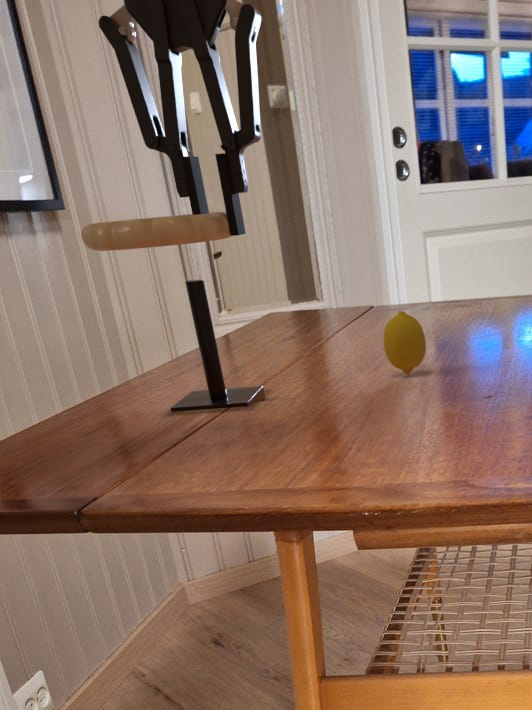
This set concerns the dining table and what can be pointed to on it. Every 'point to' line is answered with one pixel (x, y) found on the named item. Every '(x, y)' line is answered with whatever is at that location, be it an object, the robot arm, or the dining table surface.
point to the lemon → (404, 342)
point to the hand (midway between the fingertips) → (221, 235)
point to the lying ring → (156, 231)
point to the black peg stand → (212, 363)
